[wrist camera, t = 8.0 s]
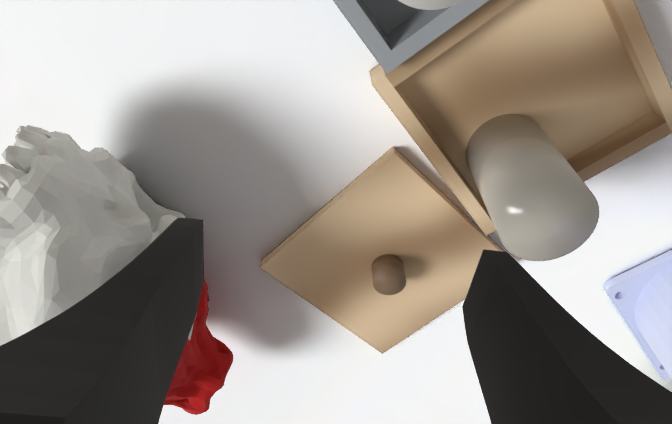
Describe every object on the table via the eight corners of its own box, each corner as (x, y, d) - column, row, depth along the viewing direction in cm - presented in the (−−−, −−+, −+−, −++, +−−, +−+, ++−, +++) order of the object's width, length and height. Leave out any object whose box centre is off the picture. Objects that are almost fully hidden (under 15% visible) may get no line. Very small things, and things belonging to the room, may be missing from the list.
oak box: (665, 108, 22) (686, 124, 21) (478, 216, 25) (486, 235, 24) (580, -84, 18) (599, -80, 17) (369, 70, 21) (371, 84, 20)
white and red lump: (66, 72, 21) (307, 269, 29) (-83, 218, 25) (168, 357, 33) (-41, 216, 14) (318, 423, 22) (-225, 390, 18) (139, 512, 26)
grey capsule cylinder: (558, 156, 23) (614, 230, 18) (489, 196, 24) (525, 275, 20) (523, 97, 21) (574, 162, 17) (451, 143, 23) (480, 215, 18)
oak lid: (511, 258, 27) (522, 281, 25) (381, 345, 30) (383, 370, 29) (392, 146, 23) (397, 166, 22) (261, 260, 27) (257, 284, 25)
